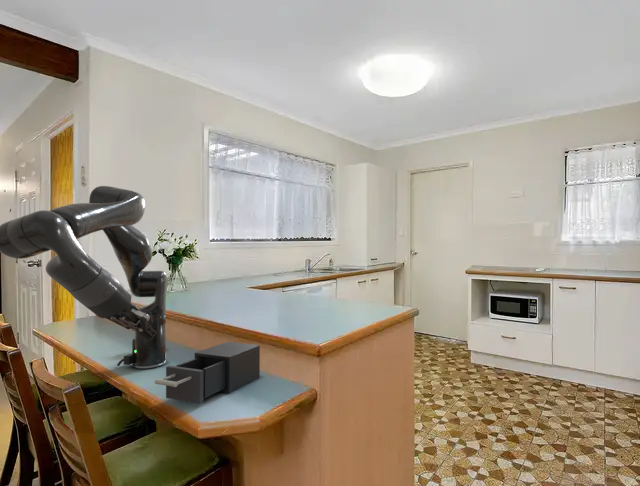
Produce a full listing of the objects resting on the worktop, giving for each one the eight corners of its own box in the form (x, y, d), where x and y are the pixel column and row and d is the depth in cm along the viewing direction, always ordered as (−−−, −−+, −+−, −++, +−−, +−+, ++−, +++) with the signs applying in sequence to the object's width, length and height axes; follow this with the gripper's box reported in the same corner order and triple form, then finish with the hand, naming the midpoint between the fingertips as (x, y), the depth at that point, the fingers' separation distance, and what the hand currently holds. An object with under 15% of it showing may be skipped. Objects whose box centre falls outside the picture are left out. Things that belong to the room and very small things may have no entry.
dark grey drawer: (181, 413, 89) (182, 378, 89) (146, 406, 93) (146, 373, 93) (233, 386, 106) (233, 357, 106) (202, 381, 110) (202, 354, 110)
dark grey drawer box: (229, 393, 104) (229, 357, 104) (194, 387, 108) (194, 352, 108) (259, 377, 117) (259, 345, 117) (227, 372, 121) (227, 341, 121)
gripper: (135, 279, 77) (182, 325, 89) (92, 277, 81) (142, 321, 93) (109, 308, 72) (163, 352, 84) (65, 304, 76) (122, 347, 88)
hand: (152, 336), depth 88 cm, fingers closed
